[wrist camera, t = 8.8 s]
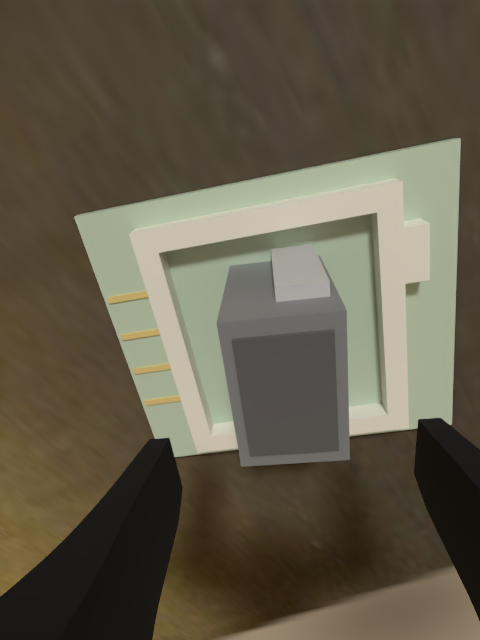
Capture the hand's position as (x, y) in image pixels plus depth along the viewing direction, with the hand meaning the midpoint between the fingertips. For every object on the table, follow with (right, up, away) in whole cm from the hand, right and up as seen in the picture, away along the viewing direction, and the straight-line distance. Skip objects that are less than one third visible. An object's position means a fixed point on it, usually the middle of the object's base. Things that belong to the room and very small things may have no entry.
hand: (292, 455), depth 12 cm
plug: (0, +4, +7) cm, 8 cm away
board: (0, +4, +8) cm, 9 cm away
